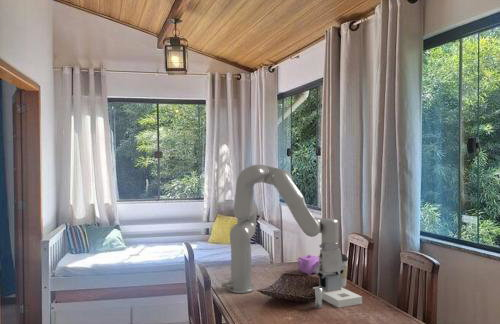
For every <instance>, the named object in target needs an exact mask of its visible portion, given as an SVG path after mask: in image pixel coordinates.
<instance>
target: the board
mask: <svg viewBox="0 0 500 324" xmlns="http://www.w3.org/2000/svg"><path fill="white" fill-rule="evenodd" d="M316 287H317V286H315V287H314V286H313V287H312V290H313V289H315V288H316ZM323 300H324V301H325V302H327V303H328V304H331V305H333V306H334V307H336V308H338V309H340V308H345V307H350V306H356V305H362V304H363V296H361V295H359V294H357V293H355V292H353V291H350V290H348V289H346V288H344V287H341V290H335V291H326V290H324V289H322V301H323Z"/></svg>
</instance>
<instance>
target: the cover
mask: <svg viewBox="0 0 500 324" xmlns="http://www.w3.org/2000/svg"><path fill="white" fill-rule="evenodd" d="M322 275H323V274H322ZM324 278H325V287H322V286H321V285H320V277H319V276H318V279H319V280H318V283H319V285H318V287H321V288H322V289H324V290H326V291H335V290H341V276H340V275H337V274H335V273H326V275H325V277H324Z"/></svg>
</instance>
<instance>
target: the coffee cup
mask: <svg viewBox="0 0 500 324" xmlns="http://www.w3.org/2000/svg"><path fill="white" fill-rule="evenodd" d="M341 256H342V264H343V265H345V266H346V268H345V269H344V270H343V273H342V274H341V287H342V288H344V287H346V286H347V277H348V266H349V265H348V261H349V258H348V256H347V255H346V254H345V253H341ZM332 273H335V272H332Z"/></svg>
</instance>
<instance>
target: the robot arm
mask: <svg viewBox="0 0 500 324" xmlns="http://www.w3.org/2000/svg"><path fill="white" fill-rule="evenodd" d="M292 177H293V176H292V174H291V173H290V172H289V171H288V170H286V169H283V168H277V167H273V166H269V165H265V164H253V165H250V166H247V167H245V168H244V169H243V170H241V172H240V173H239V174H238V176H237V179H236V184H235V193H234V203H233V204H234V205H233V214H234V217H235V218H236V219H237V220H236V221H237V222H236V224H234V225H233V226H232V228H231V229H230V232H229V241H230V257H231V258H230V262H231V263H230V266H231V267H230V268H231V271H230V273H231V279H229V280H228V281H227V282H222V283H221V287H222V288H225V287H226V288H228V289H227V290H228V291H229V292H231V293H235V294H247V293H251V292H253V291H256V290H255V289H256V287H255V285H253V284H252V246H251V239H252V237H254V235H255V233H256V229H257V228H256V227H257V215H258V207H257V204H256V202H255V200H254V191H255V190H254V187H255V185H256V184H258V183H263V184H268V185H272V186H274V188H275V189H276V191H277V193H278V194H279V195H280V197H281V198H282V199H283V201H284V202H285V204H286V206H287V207H288V209H289V212H290V213H291V214H292V216H293V219H294V220H295V222H296V223H297V225H298V226H299V227H300V229H301V231H302V232H303V233H304V234H305V235H306V236H308V237H311V238H313V237H315V236H316V237H317V235H319V234H321V244H319V248H321V249H320V250H319V255H318V256H319V265H318V266H317V267H316V268H315V269H314V271H315V272H316V273H317V274H316V275H317V276H318V278H319V277H320V285H321V286H322V287H325V278H324V277H325V275H326V273H332V272H335V274H337V275H340V276H341V274H342V273H343V270H344V269H345V268H346V266H345V265H343V264H342V256H341V254H342V252H341V249H340V248H339V246H340V245H339V220H338V219H337V218H332V217H331V218H323V217H322V218H321V217H316V216H315V217H314V215H312V213H311V211H310V210H309V208H308V206H307V204H306V200H305V197H304V195H303V193H302V192H301V190H300V189H299V187H298V186H297V185H296V183H295V182H294V180H293V178H292ZM319 270H320V271H319ZM322 274H323V275H322Z"/></svg>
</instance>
